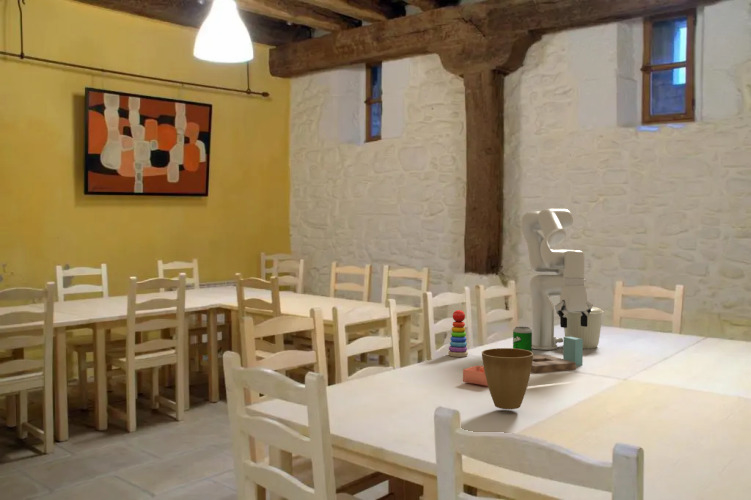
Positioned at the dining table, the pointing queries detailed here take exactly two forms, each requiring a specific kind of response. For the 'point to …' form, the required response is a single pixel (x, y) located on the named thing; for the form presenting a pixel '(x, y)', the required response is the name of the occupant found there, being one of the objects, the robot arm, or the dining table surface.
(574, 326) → the canister
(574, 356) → the teal block
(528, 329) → the soda can
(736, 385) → the dining table surface
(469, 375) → the pottery
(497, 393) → the plant pot
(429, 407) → the dining table surface
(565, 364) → the walnut board
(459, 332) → the stacking toy
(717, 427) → the dining table surface
